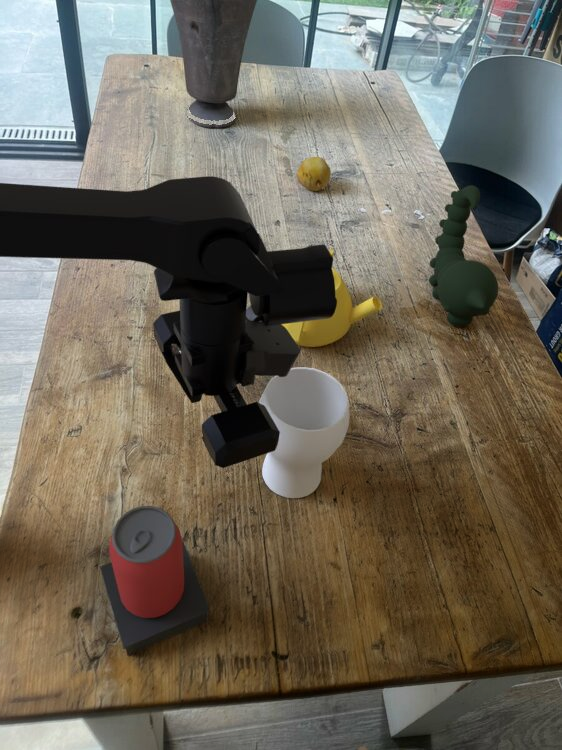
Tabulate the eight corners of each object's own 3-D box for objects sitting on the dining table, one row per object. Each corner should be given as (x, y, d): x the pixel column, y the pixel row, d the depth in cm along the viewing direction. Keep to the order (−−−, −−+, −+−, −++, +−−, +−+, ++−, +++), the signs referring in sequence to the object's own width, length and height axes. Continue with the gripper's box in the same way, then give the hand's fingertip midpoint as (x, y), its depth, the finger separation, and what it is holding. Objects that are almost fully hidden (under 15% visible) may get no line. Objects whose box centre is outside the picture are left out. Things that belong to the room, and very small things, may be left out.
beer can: (106, 603, 59) (90, 549, 50) (142, 549, 63) (132, 489, 54) (164, 631, 58) (157, 580, 49) (195, 573, 62) (194, 517, 53)
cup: (291, 427, 81) (305, 350, 70) (348, 476, 76) (373, 402, 65) (233, 469, 75) (239, 392, 64) (292, 525, 70) (308, 453, 60)
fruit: (339, 175, 119) (331, 151, 126) (308, 166, 117) (302, 142, 124) (326, 203, 124) (319, 179, 131) (296, 195, 122) (290, 171, 128)
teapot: (360, 382, 88) (376, 329, 80) (246, 349, 90) (250, 294, 82) (382, 304, 101) (398, 251, 93) (283, 277, 104) (289, 223, 96)
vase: (228, 145, 136) (233, -3, 114) (149, 120, 141) (140, -27, 119) (269, 113, 150) (280, -24, 128) (196, 91, 155) (195, -44, 133)
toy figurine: (412, 266, 113) (438, 347, 94) (440, 171, 100) (475, 242, 82) (460, 270, 113) (494, 352, 95) (493, 176, 101) (540, 249, 82)
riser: (126, 658, 58) (123, 648, 56) (103, 579, 64) (99, 566, 61) (210, 622, 62) (210, 610, 59) (181, 549, 67) (181, 535, 65)
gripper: (343, 373, 49) (316, 476, 60) (253, 248, 60) (244, 355, 71) (219, 410, 45) (215, 512, 56) (147, 269, 56) (156, 379, 67)
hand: (210, 431), depth 63 cm, fingers open, 9 cm apart
